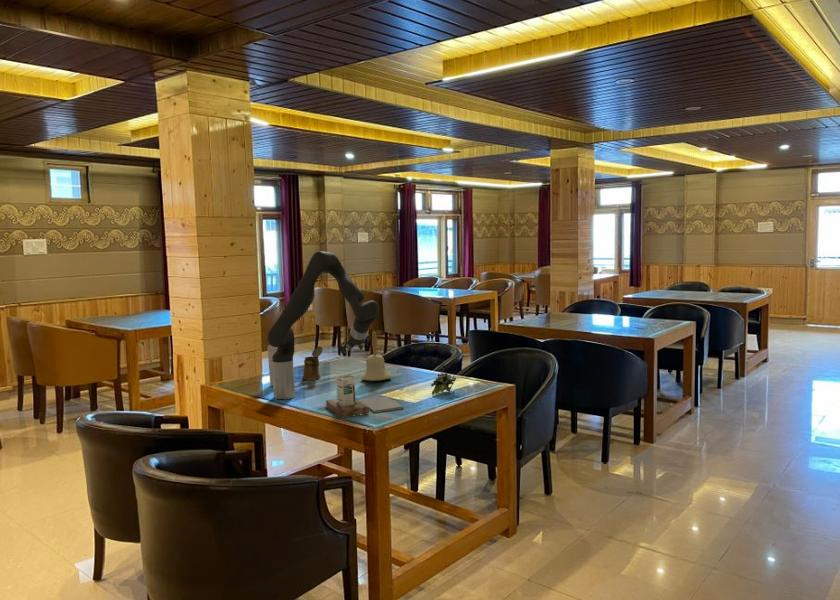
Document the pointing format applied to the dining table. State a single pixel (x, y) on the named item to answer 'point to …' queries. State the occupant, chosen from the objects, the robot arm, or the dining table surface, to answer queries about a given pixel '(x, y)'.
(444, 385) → the green leafy plant
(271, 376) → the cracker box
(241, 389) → the dining table surface
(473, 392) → the dining table surface
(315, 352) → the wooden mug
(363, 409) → the pocket block
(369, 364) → the handbell
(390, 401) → the slate tile
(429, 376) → the dining table surface
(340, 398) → the syrup box
